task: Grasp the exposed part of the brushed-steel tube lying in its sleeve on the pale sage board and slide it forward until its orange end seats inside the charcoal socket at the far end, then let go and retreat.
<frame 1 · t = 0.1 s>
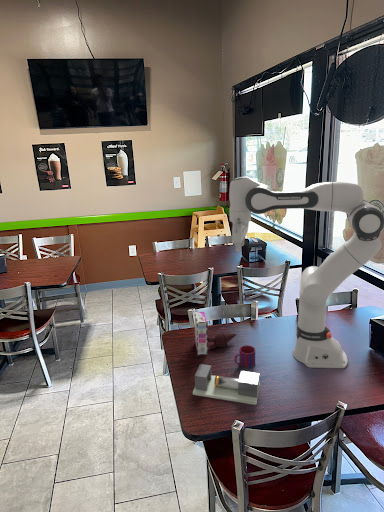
hand: (240, 248, 152), 48 cm above the table, tool pointing down, fingers open, 8 cm apart
tube: (234, 383, 136), point 3 cm above the table, slide at 0.0 cm
candy bar box: (201, 349, 166), on the table
board: (226, 389, 138), on the table
mug: (244, 364, 153), on the table
sleeve: (247, 392, 135), resting on board
socket: (204, 385, 140), resting on board
icecream: (222, 345, 168), on the table
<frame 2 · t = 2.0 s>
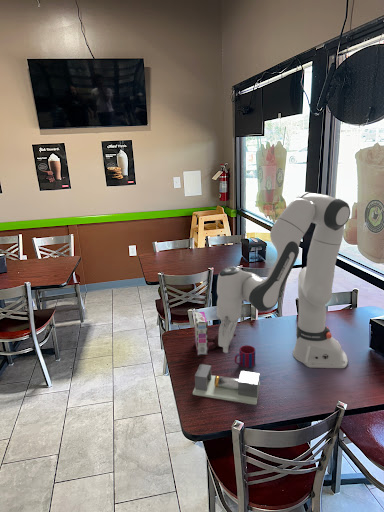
hand: (228, 345, 133), 19 cm above the table, tool pointing down, fingers open, 8 cm apart
nothing on the table moved.
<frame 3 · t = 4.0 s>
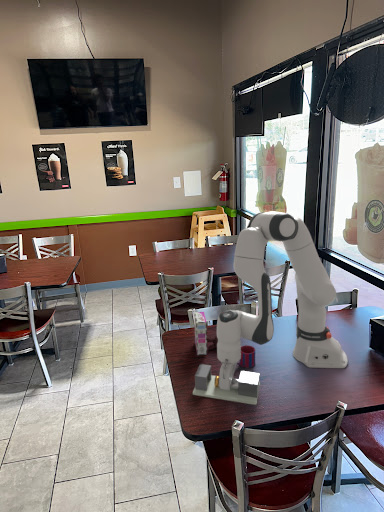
hand: (229, 384, 137), 2 cm above the table, tool pointing down, fingers closed on tube, 4 cm apart
tube: (234, 383, 136), point 3 cm above the table, slide at 0.0 cm, touching gripper
candy bar box: (201, 349, 166), on the table, touching icecream
icecream: (221, 346, 168), on the table, touching candy bar box
everything else where it was.
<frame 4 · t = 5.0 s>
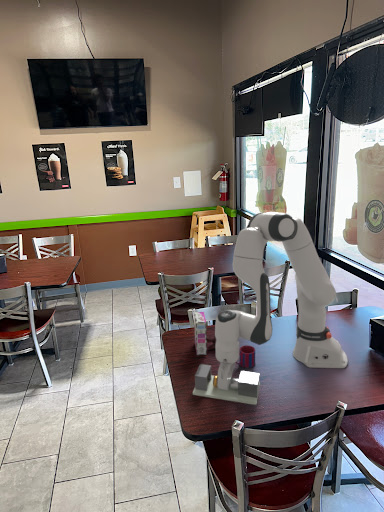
hand: (227, 384, 137), 2 cm above the table, tool pointing down, fingers closed on tube, 4 cm apart
tube: (233, 383, 136), point 3 cm above the table, slide at 0.6 cm, touching gripper
candy bar box: (201, 349, 166), on the table
icecream: (221, 346, 168), on the table
everything else where it was.
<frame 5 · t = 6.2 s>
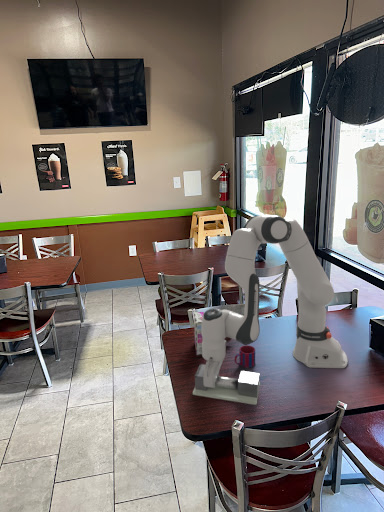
hand: (214, 382, 138), 2 cm above the table, tool pointing down, fingers closed on tube, 4 cm apart
tube: (219, 381, 138), point 3 cm above the table, slide at 5.8 cm, touching gripper
candy bar box: (200, 349, 166), on the table, touching icecream
icecream: (221, 346, 168), on the table, touching candy bar box
everything else where it was.
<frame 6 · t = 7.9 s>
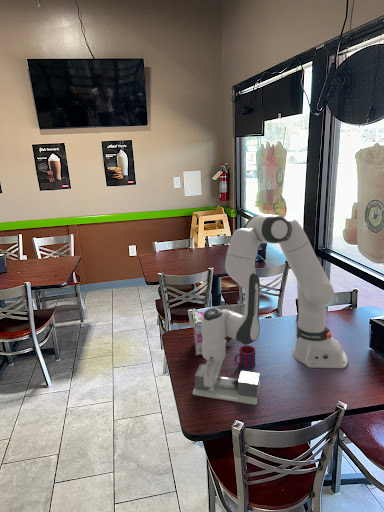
hand: (214, 382, 138), 3 cm above the table, tool pointing down, fingers open, 8 cm apart
tube: (219, 381, 138), point 3 cm above the table, slide at 5.8 cm
candy bar box: (200, 349, 166), on the table
icecream: (220, 346, 168), on the table
everything else where it was.
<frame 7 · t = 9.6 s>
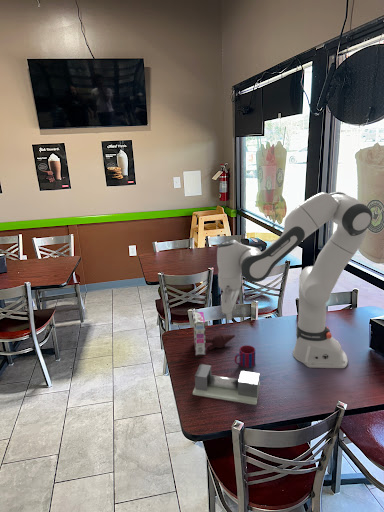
hand: (231, 313, 143), 26 cm above the table, tool pointing down, fingers open, 8 cm apart
nothing on the table moved.
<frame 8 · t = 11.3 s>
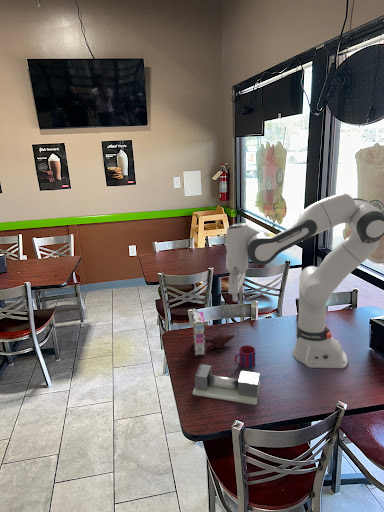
hand: (237, 296, 146), 31 cm above the table, tool pointing down, fingers open, 8 cm apart
nothing on the table moved.
at the end: tube slide at 5.8 cm; the gripper is holding nothing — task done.
